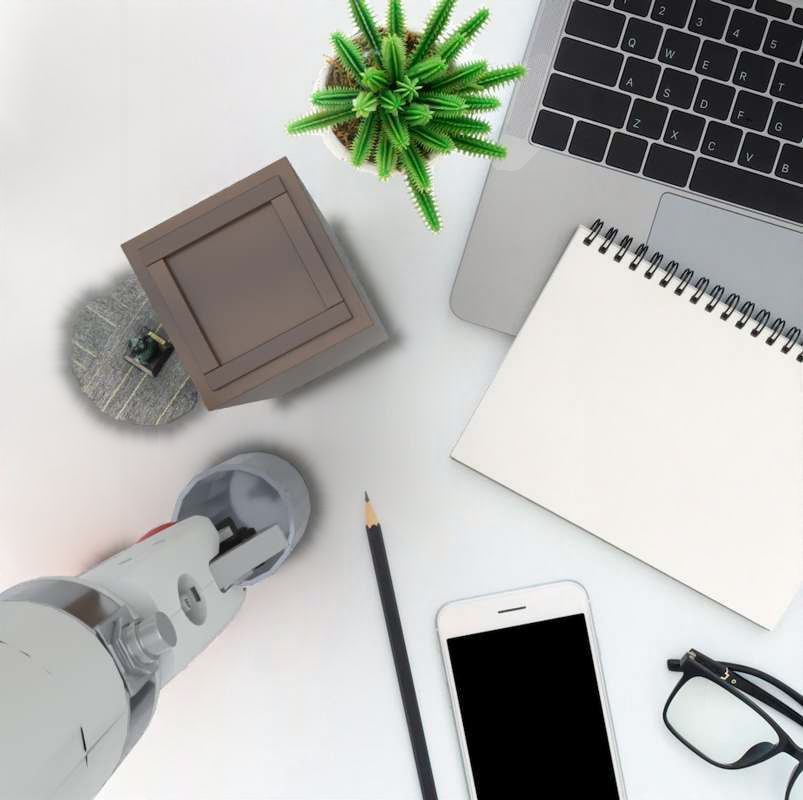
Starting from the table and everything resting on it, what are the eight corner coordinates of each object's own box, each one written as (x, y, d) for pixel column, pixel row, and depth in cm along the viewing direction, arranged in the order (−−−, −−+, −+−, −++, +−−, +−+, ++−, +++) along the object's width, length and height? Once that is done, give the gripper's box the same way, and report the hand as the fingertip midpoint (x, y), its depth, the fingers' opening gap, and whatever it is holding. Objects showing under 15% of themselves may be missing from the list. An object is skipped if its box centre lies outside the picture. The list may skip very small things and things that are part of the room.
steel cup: (185, 482, 69) (150, 499, 60) (279, 433, 69) (258, 443, 60) (235, 576, 69) (208, 607, 60) (329, 528, 69) (316, 552, 60)
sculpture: (221, 280, 69) (204, 342, 63) (229, 365, 75) (215, 428, 69) (72, 273, 68) (42, 335, 62) (93, 359, 74) (68, 422, 69)
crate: (224, 287, 68) (116, 243, 44) (332, 230, 68) (284, 153, 44) (281, 396, 69) (205, 412, 44) (389, 339, 68) (373, 323, 44)
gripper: (207, 484, 29) (290, 440, 47) (-218, 707, 30) (24, 580, 48) (308, 674, 29) (352, 558, 47) (-118, 891, 30) (86, 696, 48)
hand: (186, 570), depth 47 cm, fingers closed on apple, 6 cm apart
